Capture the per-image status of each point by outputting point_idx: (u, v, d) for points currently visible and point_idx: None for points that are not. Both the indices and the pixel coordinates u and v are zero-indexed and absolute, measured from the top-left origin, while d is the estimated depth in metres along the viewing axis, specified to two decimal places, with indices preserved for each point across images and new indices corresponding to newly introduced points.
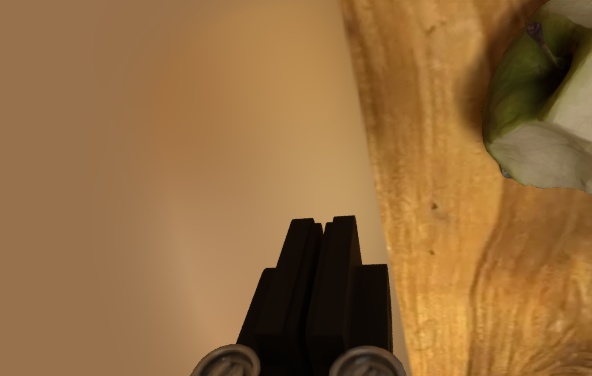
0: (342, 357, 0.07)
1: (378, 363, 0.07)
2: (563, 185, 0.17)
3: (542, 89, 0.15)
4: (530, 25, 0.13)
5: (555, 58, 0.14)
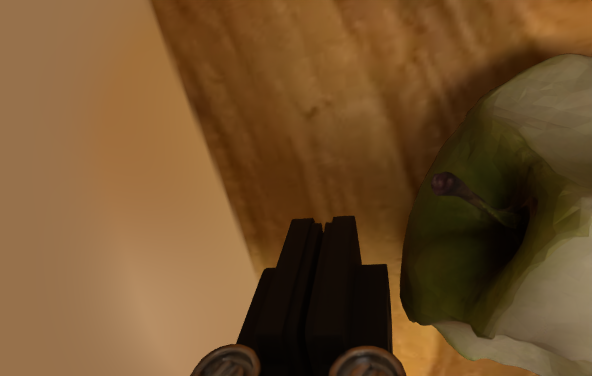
0: (342, 357, 0.07)
1: (378, 363, 0.07)
2: (533, 370, 0.11)
3: (484, 251, 0.09)
4: (437, 177, 0.06)
5: (498, 214, 0.08)
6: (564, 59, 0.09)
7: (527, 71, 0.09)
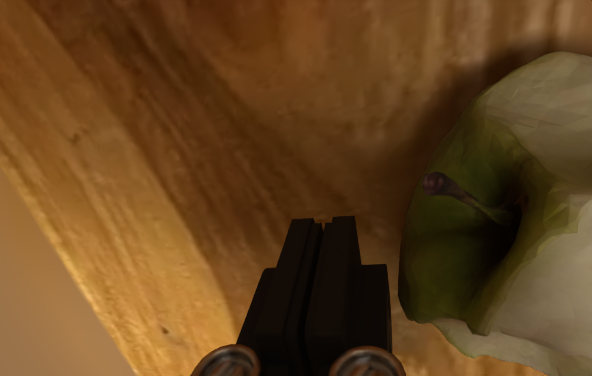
0: (341, 357, 0.07)
1: (378, 363, 0.07)
2: (533, 366, 0.11)
3: (479, 249, 0.09)
4: (428, 177, 0.07)
5: (491, 212, 0.08)
6: (555, 57, 0.09)
7: (519, 69, 0.09)
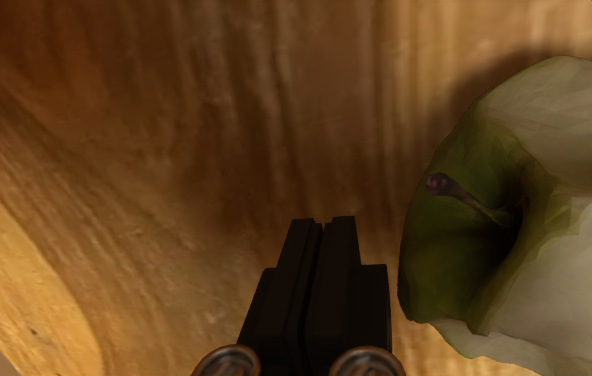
0: (341, 357, 0.07)
1: (378, 363, 0.07)
2: (529, 368, 0.11)
3: (479, 250, 0.09)
4: (431, 177, 0.07)
5: (492, 214, 0.08)
6: (557, 61, 0.09)
7: (521, 73, 0.09)
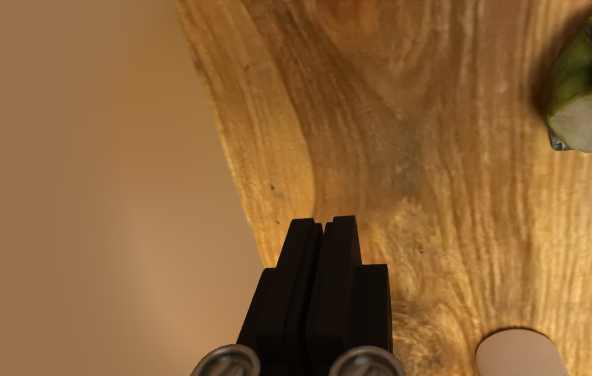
0: (342, 357, 0.07)
1: (378, 363, 0.07)
2: None
3: None
4: (587, 29, 0.19)
5: None
6: None
7: None
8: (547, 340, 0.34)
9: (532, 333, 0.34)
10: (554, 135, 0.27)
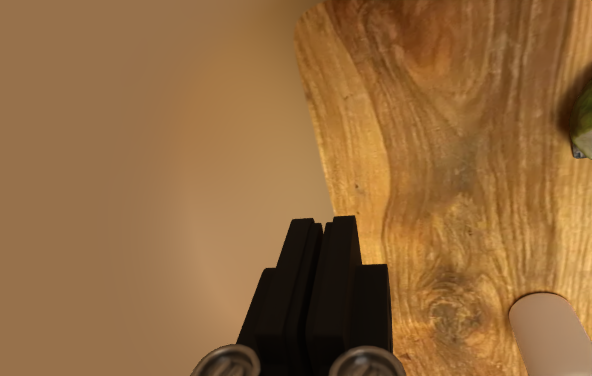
0: (342, 357, 0.07)
1: (378, 363, 0.07)
2: None
3: None
4: None
5: None
6: None
7: None
8: (565, 300, 0.44)
9: (554, 295, 0.44)
10: (575, 147, 0.37)
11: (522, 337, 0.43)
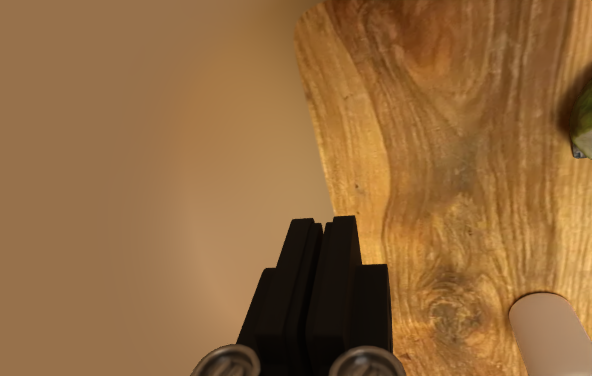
0: (342, 357, 0.07)
1: (378, 363, 0.07)
2: None
3: None
4: None
5: None
6: None
7: None
8: (565, 300, 0.44)
9: (554, 295, 0.44)
10: (575, 147, 0.37)
11: (522, 337, 0.43)
